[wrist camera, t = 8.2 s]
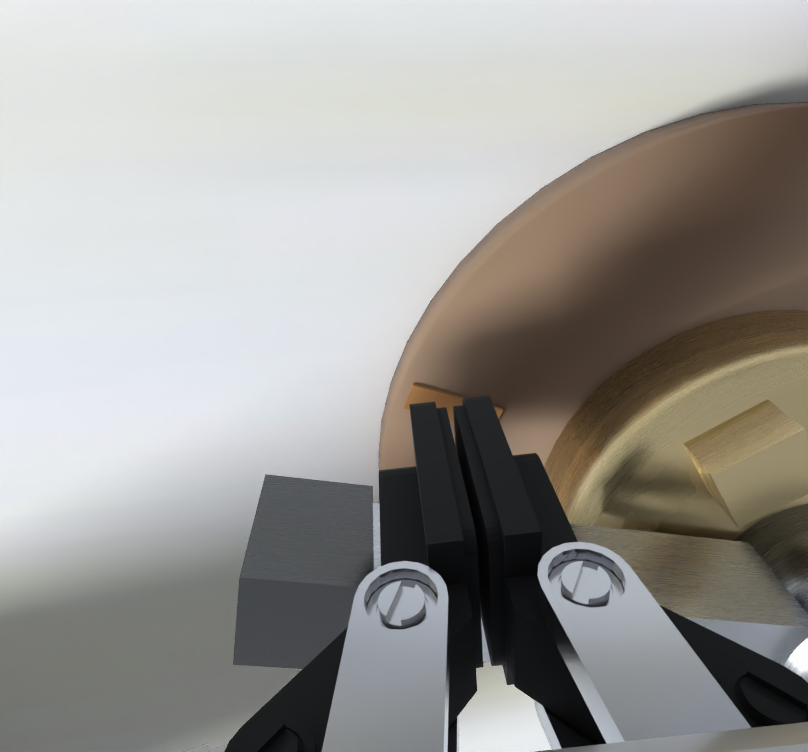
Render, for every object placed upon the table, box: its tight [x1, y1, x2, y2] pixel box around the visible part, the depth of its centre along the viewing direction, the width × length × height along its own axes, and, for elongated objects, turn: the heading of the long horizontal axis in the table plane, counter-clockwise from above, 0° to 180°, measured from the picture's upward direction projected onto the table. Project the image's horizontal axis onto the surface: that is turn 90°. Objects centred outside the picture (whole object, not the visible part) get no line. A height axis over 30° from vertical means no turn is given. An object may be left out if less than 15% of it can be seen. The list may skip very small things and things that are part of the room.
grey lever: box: [233, 310, 808, 681], centre depth 15 cm, size 20×12×7 cm, turn 79°
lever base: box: [379, 102, 808, 666], centre depth 19 cm, size 22×22×2 cm
